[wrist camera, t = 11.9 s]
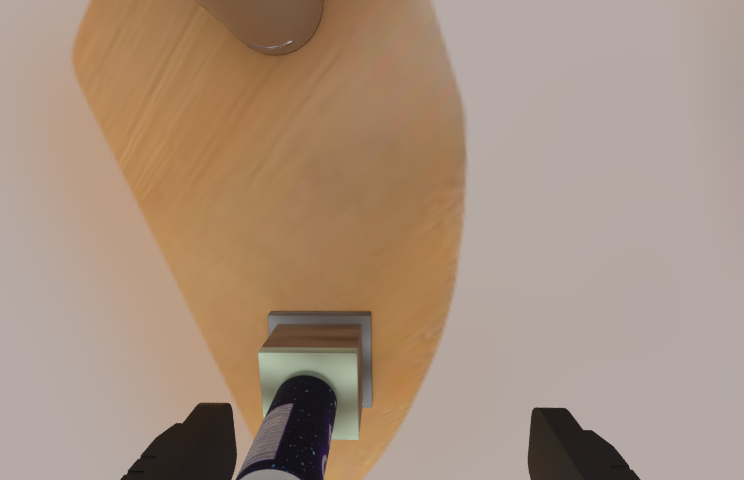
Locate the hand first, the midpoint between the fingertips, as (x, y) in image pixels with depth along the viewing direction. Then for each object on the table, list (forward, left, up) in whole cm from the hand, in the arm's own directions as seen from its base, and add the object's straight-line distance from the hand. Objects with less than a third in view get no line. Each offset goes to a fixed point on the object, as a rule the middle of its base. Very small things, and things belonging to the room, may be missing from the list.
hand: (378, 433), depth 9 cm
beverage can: (+14, -7, -21) cm, 26 cm away
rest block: (+14, -7, -28) cm, 32 cm away
